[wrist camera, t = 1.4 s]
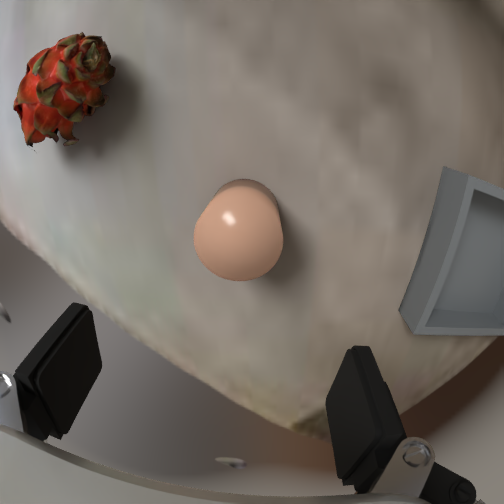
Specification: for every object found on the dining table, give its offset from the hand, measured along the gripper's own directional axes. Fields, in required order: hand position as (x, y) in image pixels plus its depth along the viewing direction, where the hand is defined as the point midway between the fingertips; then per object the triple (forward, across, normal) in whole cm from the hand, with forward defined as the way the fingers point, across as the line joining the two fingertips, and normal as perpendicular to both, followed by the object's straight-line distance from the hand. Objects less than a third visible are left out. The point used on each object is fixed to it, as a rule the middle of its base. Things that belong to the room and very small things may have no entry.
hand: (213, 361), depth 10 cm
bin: (+18, -26, 0) cm, 32 cm away
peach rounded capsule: (+18, 0, 0) cm, 18 cm away
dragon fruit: (+18, +17, -10) cm, 27 cm away
